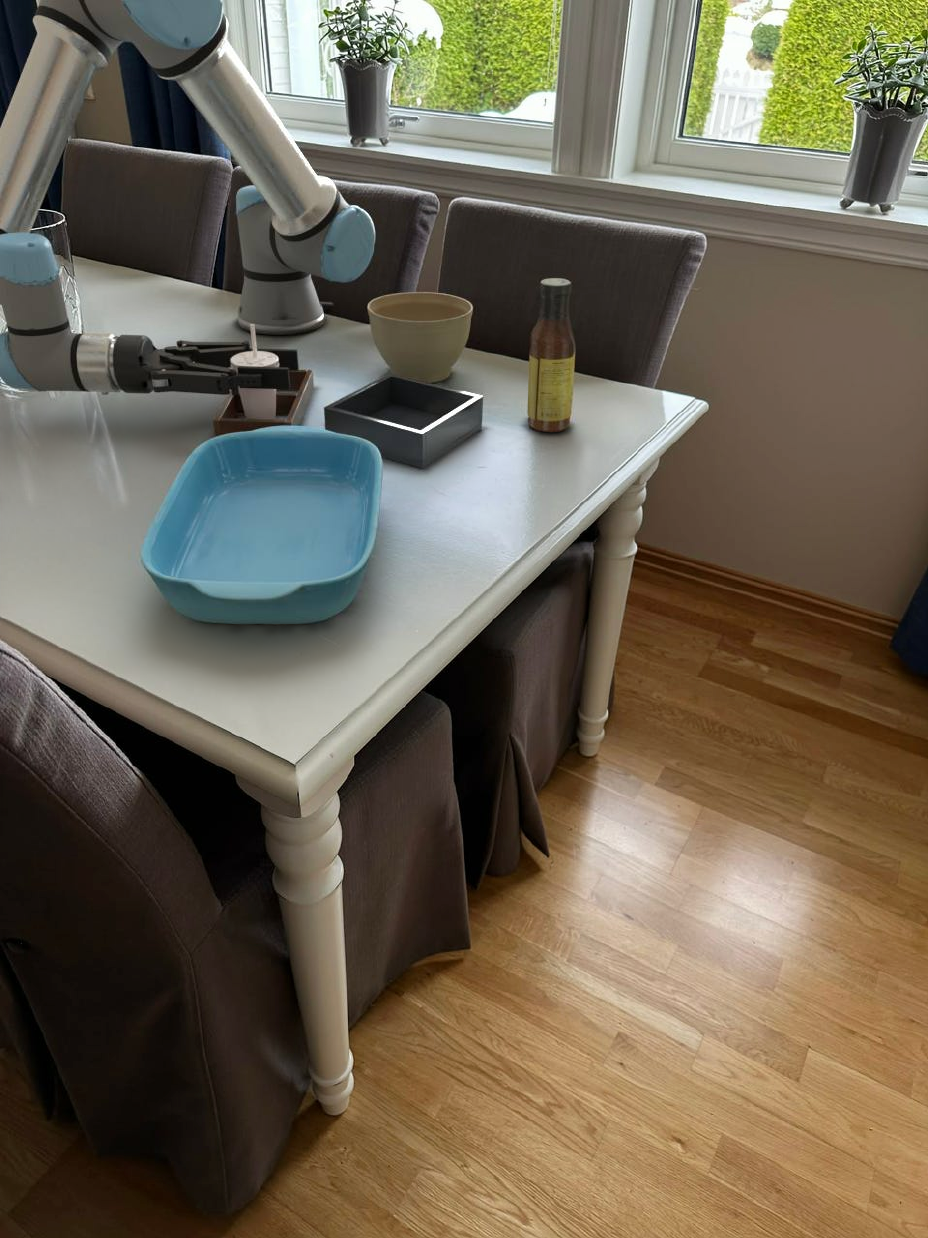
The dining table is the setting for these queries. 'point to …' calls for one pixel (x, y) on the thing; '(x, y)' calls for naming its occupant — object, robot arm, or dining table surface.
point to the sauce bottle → (552, 360)
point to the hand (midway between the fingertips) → (293, 368)
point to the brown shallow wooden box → (285, 405)
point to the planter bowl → (420, 332)
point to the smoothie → (253, 400)
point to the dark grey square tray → (407, 418)
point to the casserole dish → (267, 526)
